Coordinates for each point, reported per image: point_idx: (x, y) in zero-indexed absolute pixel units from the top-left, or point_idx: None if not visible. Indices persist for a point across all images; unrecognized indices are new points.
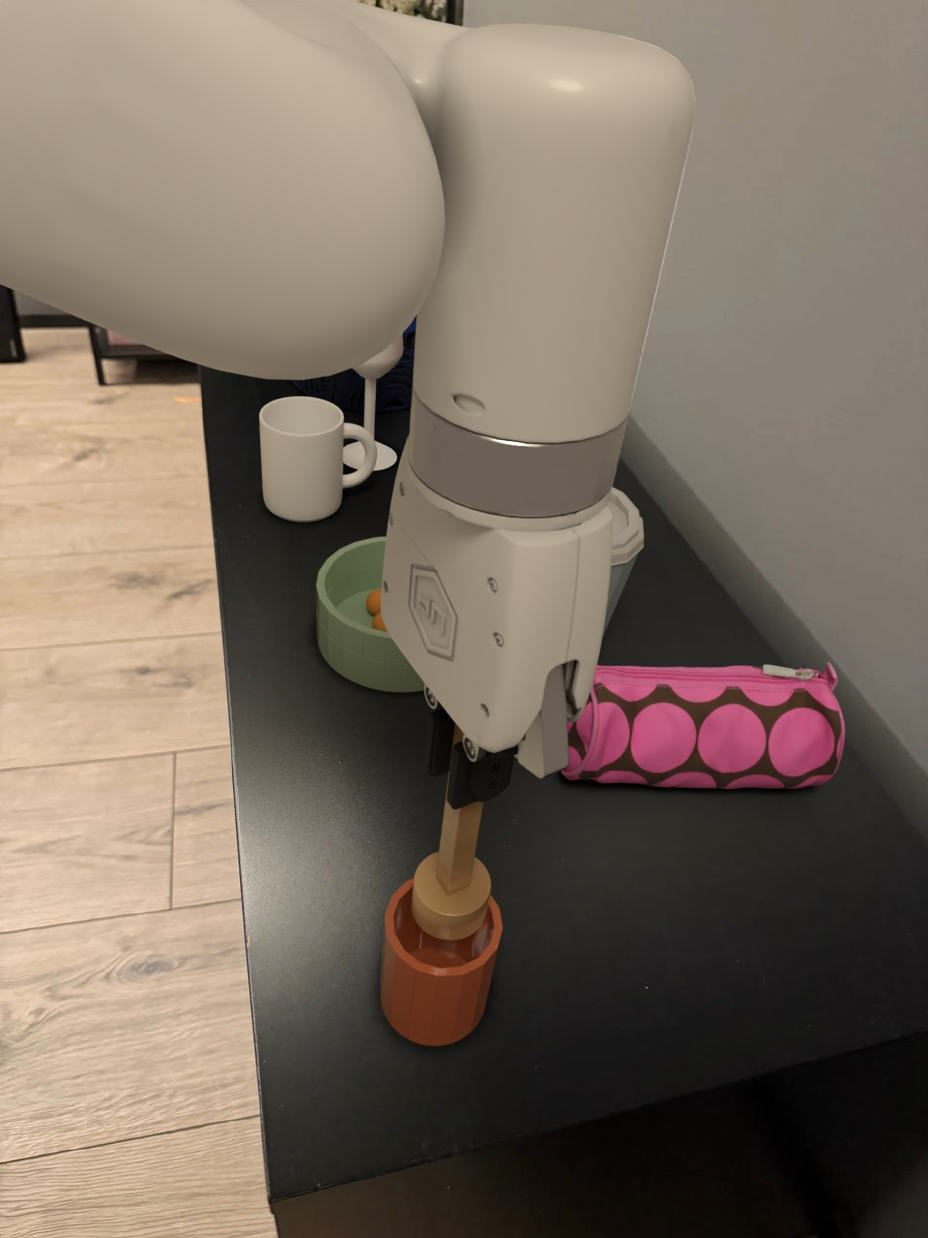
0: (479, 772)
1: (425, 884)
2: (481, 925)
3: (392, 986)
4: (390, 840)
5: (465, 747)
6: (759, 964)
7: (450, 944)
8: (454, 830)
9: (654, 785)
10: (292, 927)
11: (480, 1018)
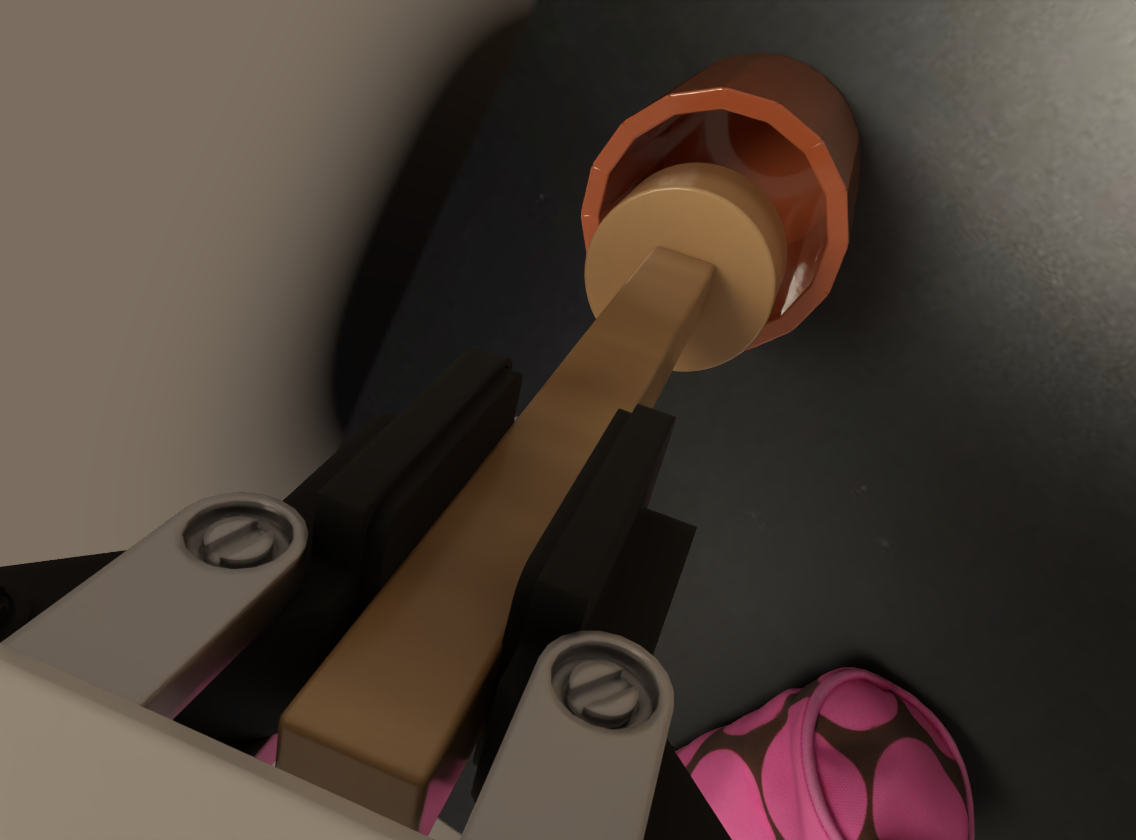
0: (311, 485)
1: (717, 229)
2: None
3: (753, 70)
4: (1071, 354)
5: (292, 532)
6: None
7: None
8: (591, 340)
9: (718, 728)
10: (1107, 38)
11: None
